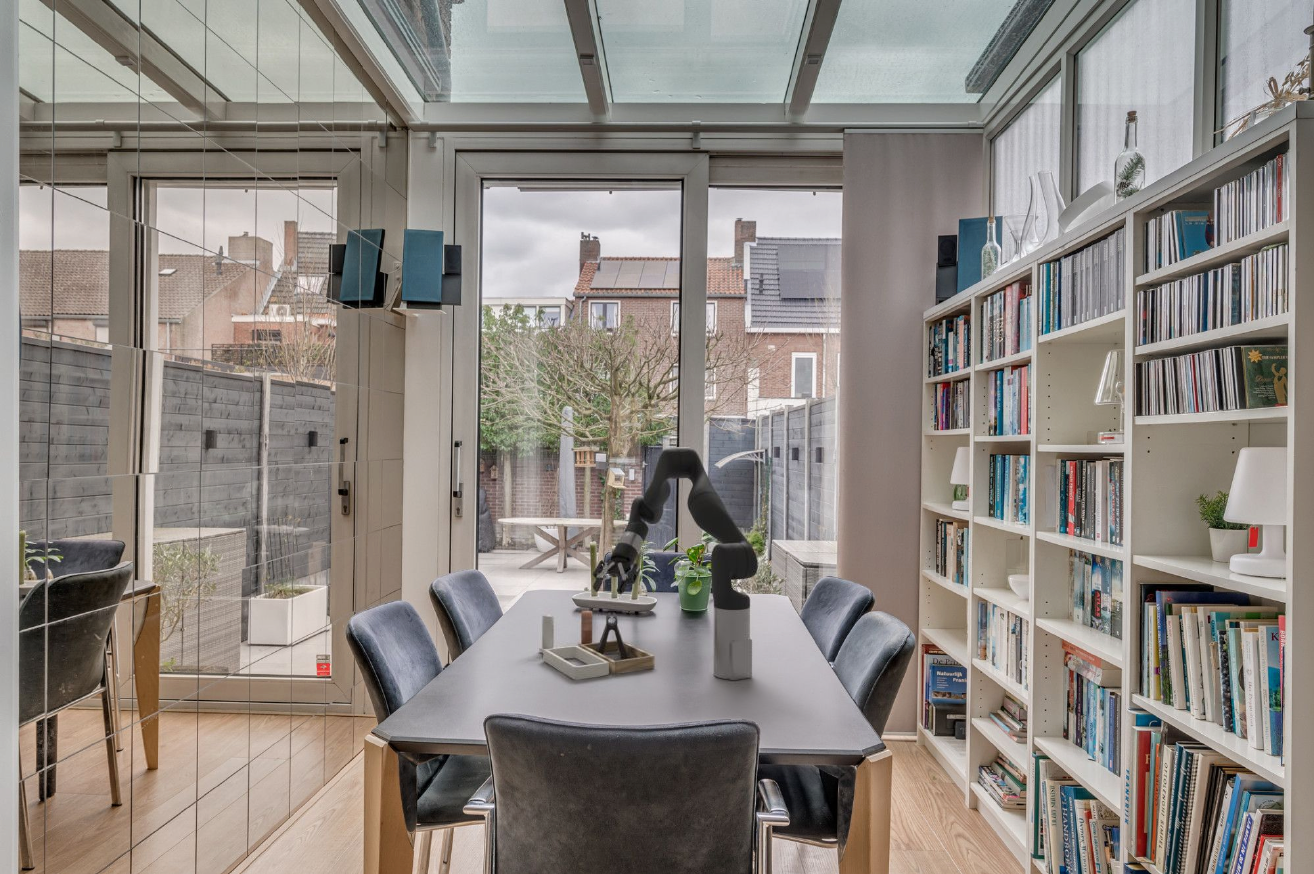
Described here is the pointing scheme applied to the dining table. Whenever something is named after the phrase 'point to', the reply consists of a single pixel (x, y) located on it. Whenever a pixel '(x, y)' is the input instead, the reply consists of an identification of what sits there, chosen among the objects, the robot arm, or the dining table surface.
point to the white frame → (569, 655)
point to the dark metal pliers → (621, 646)
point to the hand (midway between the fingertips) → (607, 591)
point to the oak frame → (614, 650)
